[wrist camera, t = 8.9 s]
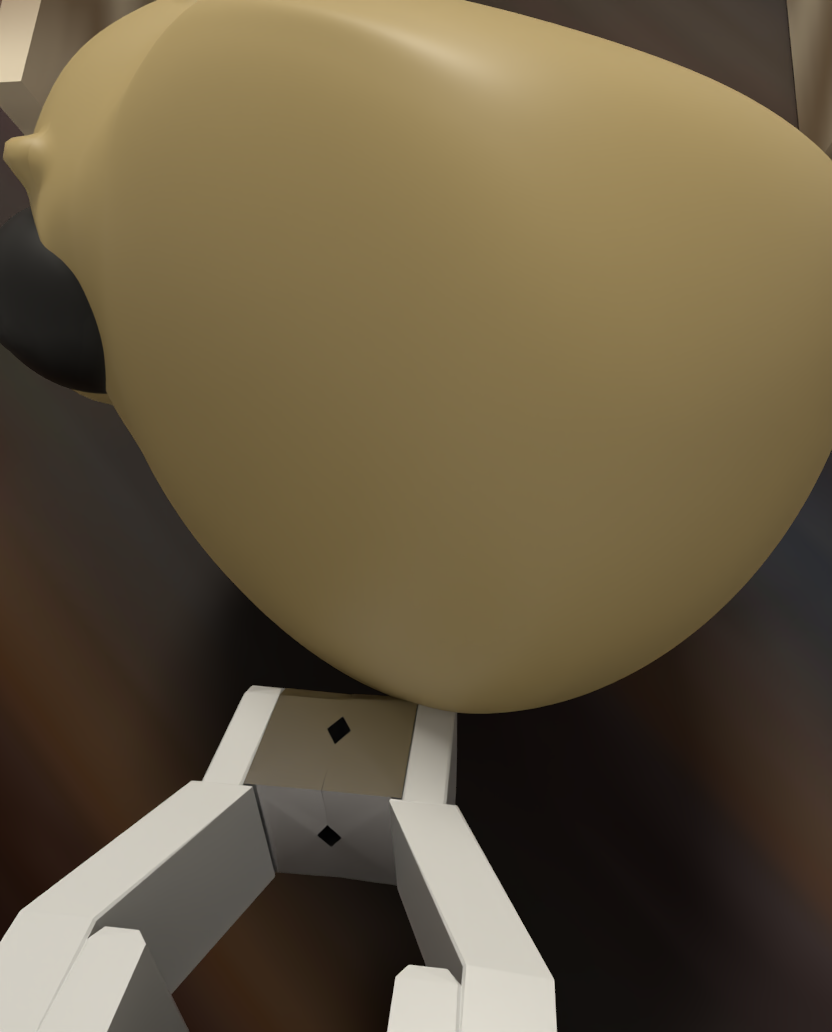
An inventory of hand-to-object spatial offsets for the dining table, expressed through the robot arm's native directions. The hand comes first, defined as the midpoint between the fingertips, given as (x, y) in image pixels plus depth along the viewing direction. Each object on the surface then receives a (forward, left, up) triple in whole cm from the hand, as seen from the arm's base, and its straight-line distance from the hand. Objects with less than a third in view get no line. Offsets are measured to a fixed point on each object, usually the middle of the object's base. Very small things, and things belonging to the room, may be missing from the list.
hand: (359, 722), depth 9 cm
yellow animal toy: (+5, +3, -5) cm, 8 cm away
